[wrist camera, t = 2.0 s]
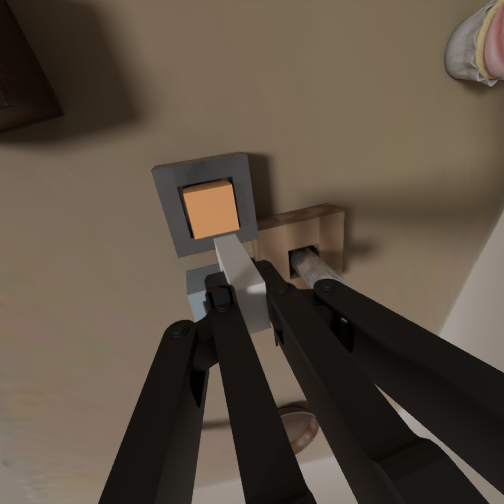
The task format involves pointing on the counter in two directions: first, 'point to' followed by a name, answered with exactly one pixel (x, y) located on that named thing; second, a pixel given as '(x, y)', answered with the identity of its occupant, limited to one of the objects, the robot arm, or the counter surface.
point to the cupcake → (478, 46)
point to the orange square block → (211, 208)
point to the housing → (200, 172)
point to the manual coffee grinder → (21, 79)
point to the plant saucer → (299, 427)
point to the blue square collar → (199, 289)
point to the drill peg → (313, 267)
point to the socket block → (301, 239)
